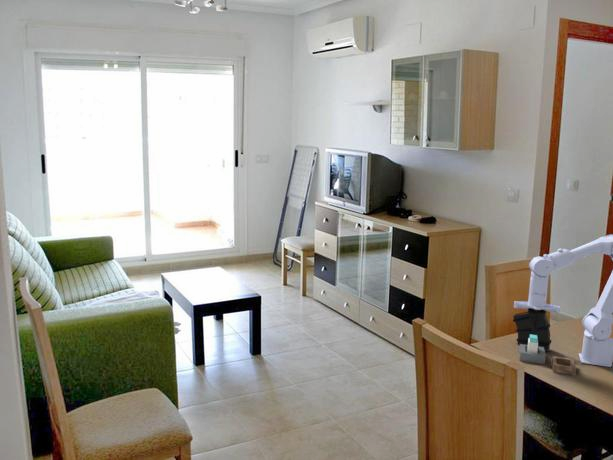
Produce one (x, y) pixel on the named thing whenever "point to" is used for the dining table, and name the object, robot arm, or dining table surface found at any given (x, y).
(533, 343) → the plug
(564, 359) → the brown wooden frame
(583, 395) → the dining table surface
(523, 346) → the port panel
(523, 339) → the black piece
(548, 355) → the dining table surface
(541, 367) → the dining table surface
